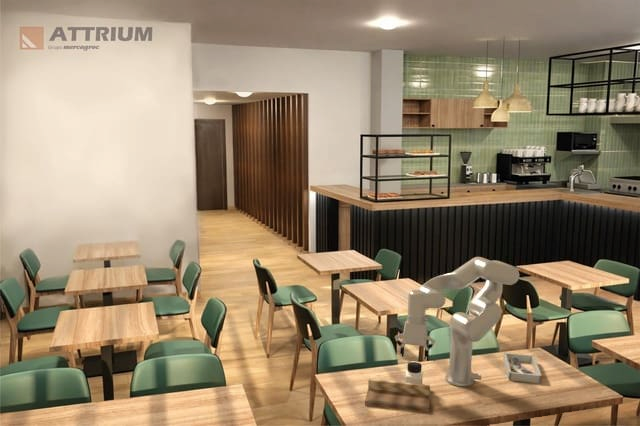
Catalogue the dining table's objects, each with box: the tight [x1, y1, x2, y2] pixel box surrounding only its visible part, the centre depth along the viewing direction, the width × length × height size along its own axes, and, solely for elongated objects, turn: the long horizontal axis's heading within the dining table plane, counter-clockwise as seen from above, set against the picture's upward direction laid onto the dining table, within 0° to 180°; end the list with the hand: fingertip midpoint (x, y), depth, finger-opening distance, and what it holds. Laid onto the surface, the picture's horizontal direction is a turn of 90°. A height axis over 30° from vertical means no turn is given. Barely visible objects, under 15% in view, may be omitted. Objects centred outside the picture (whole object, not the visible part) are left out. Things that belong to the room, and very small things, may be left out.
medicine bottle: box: [404, 360, 424, 384], centre depth 243 cm, size 7×7×12 cm
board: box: [364, 378, 431, 414], centre depth 232 cm, size 26×12×6 cm, turn 78°
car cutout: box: [509, 357, 536, 375], centre depth 262 cm, size 15×7×4 cm, turn 16°
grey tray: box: [502, 352, 543, 384], centre depth 262 cm, size 14×23×4 cm, turn 168°
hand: (413, 356), depth 241 cm, fingers open, 9 cm apart
